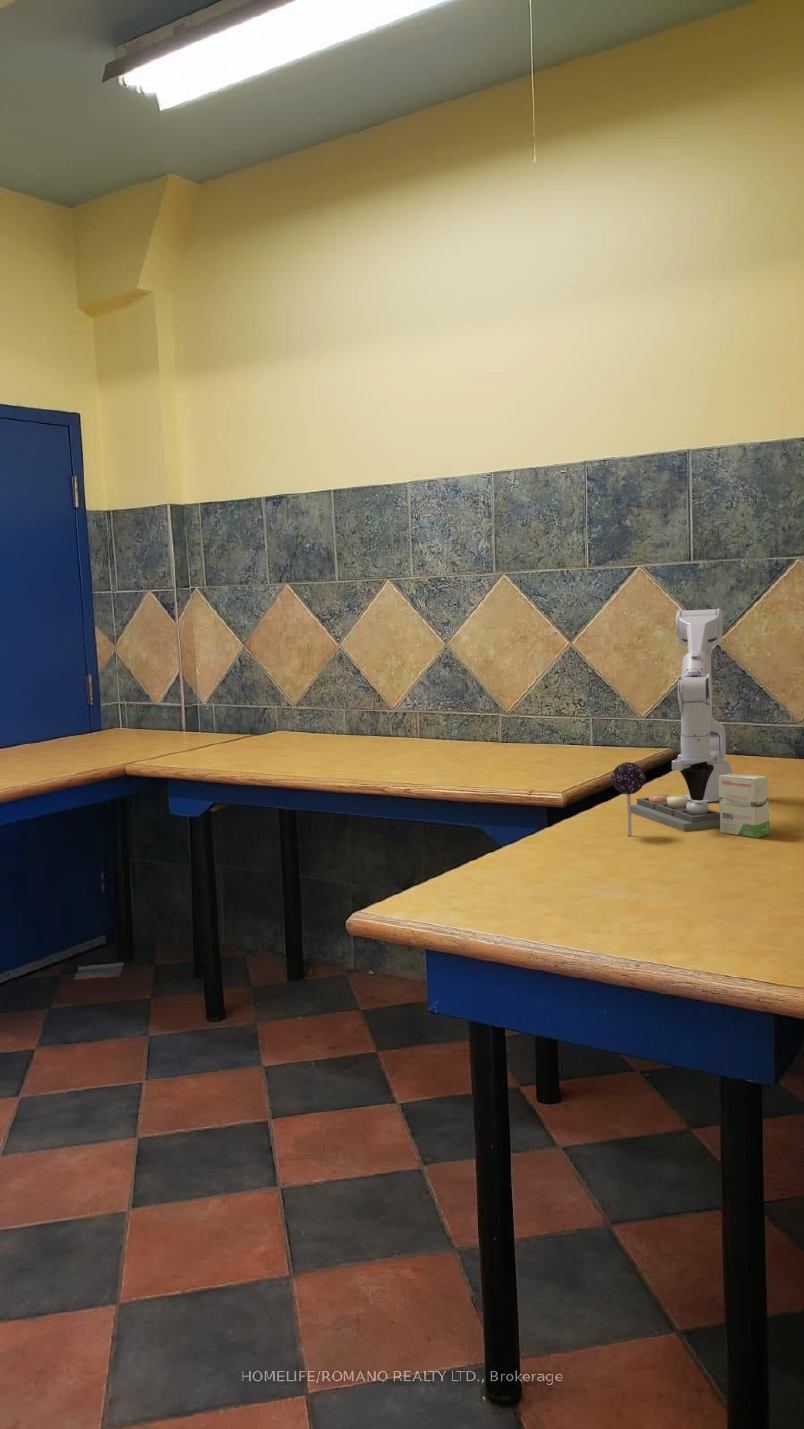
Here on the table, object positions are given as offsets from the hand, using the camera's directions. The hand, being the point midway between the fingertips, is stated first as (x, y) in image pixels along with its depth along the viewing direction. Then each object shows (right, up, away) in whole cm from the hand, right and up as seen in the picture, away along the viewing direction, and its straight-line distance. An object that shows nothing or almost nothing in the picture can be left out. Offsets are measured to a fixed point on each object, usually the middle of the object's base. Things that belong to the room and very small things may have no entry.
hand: (697, 799), depth 224 cm
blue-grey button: (0, -3, 0) cm, 3 cm away
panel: (-2, -5, +8) cm, 9 cm away
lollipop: (-15, -7, -5) cm, 17 cm away
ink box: (+7, -6, -9) cm, 13 cm away
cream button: (-2, -2, +7) cm, 8 cm away
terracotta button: (-4, -2, +15) cm, 15 cm away
